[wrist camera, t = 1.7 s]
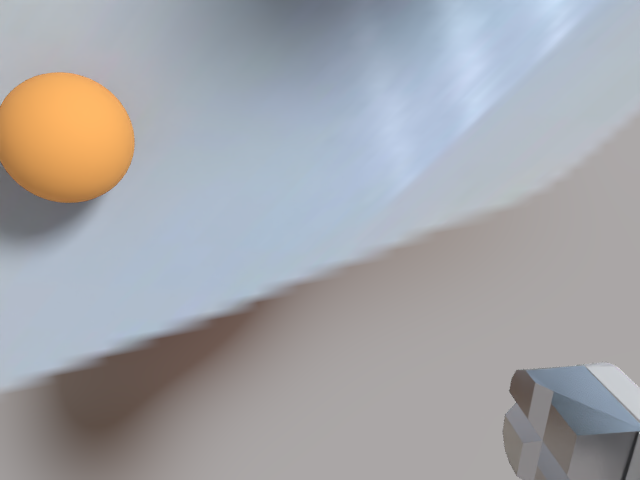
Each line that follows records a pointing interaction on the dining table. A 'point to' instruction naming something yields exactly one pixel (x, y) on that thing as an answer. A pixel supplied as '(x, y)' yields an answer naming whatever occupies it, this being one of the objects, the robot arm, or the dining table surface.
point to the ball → (65, 137)
